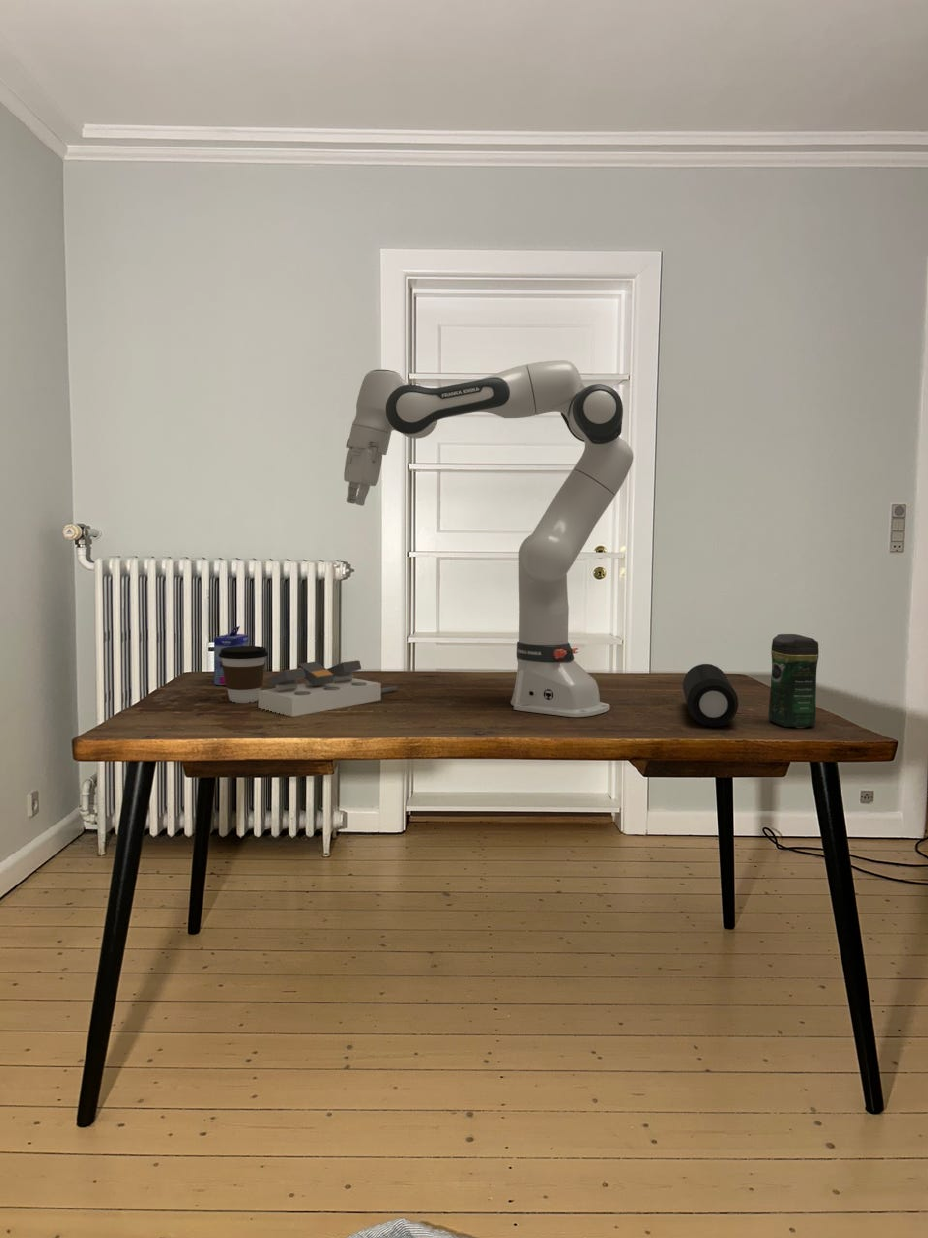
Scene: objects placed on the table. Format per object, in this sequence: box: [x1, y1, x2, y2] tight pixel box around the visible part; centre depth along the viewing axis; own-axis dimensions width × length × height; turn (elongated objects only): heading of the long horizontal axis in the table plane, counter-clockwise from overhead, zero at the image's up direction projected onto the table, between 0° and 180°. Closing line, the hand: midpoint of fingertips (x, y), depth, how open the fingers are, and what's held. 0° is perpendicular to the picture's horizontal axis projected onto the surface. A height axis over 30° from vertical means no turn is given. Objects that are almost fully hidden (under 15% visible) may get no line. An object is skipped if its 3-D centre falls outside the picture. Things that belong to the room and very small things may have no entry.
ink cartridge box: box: [213, 625, 249, 686], centre depth 224 cm, size 10×6×14 cm, turn 171°
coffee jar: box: [767, 633, 819, 729], centre depth 180 cm, size 10×8×19 cm
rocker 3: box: [326, 659, 362, 676], centre depth 204 cm, size 7×5×2 cm
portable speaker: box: [682, 663, 739, 728], centre depth 188 cm, size 26×10×10 cm, turn 169°
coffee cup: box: [219, 645, 269, 704], centre depth 201 cm, size 11×11×12 cm
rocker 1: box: [266, 668, 306, 688], centre depth 193 cm, size 7×5×2 cm
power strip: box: [258, 673, 398, 718], centre depth 201 cm, size 12×36×6 cm, turn 138°
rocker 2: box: [296, 661, 334, 686], centre depth 198 cm, size 7×5×2 cm
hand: (354, 504), depth 196 cm, fingers open, 8 cm apart
